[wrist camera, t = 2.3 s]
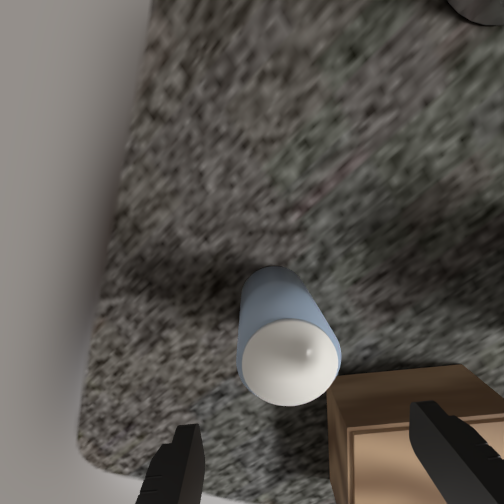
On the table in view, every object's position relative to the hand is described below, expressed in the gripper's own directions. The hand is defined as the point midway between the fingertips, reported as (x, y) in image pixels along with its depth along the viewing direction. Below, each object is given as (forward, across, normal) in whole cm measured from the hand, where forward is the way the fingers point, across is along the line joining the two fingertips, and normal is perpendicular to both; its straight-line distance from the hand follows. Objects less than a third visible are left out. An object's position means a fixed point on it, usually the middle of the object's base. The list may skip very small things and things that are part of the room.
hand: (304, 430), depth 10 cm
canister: (+12, 0, 0) cm, 12 cm away
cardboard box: (+12, -10, +14) cm, 21 cm away
